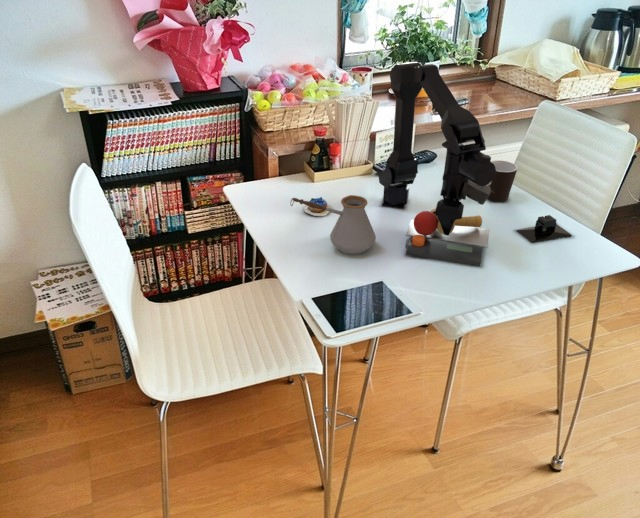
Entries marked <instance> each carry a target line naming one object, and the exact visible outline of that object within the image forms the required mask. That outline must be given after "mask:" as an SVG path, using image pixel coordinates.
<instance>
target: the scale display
mask: <svg viewBox="0 0 640 518" xmlns="http://www.w3.org/2000/svg"><path fill="white" fill-rule="evenodd" d="M446 249H450V250H456V251H463V252H470V253H472V248H471V247H464V246H458V245H451V244H447V248H446Z"/></svg>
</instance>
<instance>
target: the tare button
mask: <svg viewBox="0 0 640 518" xmlns="http://www.w3.org/2000/svg"><path fill="white" fill-rule="evenodd" d="M424 242H425V237H424V236H422V235H414V236H413V238H412V244H413V245H414V246H424Z"/></svg>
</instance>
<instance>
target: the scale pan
mask: <svg viewBox="0 0 640 518" xmlns="http://www.w3.org/2000/svg"><path fill="white" fill-rule="evenodd" d="M414 235H421V234H419V233H417V232H416V230H415V228H414V218H411V220H410V221H409V225H408V227H407V229H406V234H405V236H406V237H409V238H411V237H413V236H414ZM422 236H424V237H425V239H430V240H437V241H444V242H451V243H458V244H465V245H472V246H478V247H483V248H489V238H490V229H489V228H482V227H468V226H455V227H454V230H453V231H452V232H451V233H450V234H449V235H448V236H447V235H443V234H441V233H440V232H439V231H438V230H437V229H436V231H434V232H433V233H432V234H430V235H422Z"/></svg>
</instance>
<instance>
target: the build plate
mask: <svg viewBox="0 0 640 518" xmlns="http://www.w3.org/2000/svg"><path fill="white" fill-rule="evenodd" d="M516 232H517V233H518V234H519V235H521V236H522V237H523V238H525V239H526V240H527V241H528V242H529V243H531V244H535V243H544V242H550V241H554V240H558V239H568V238H571V237H572V235H573V234H571V233H570V232H568V231H567V230H565V228H563V227H562V226H560V225H559V224H558V222H557V219H556V218H555V217H553V216H552V215H550V214H547V215H542V216H538V217H537V219H536V221H535V225H534V226H531V227H526V228H519V229H516Z"/></svg>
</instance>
